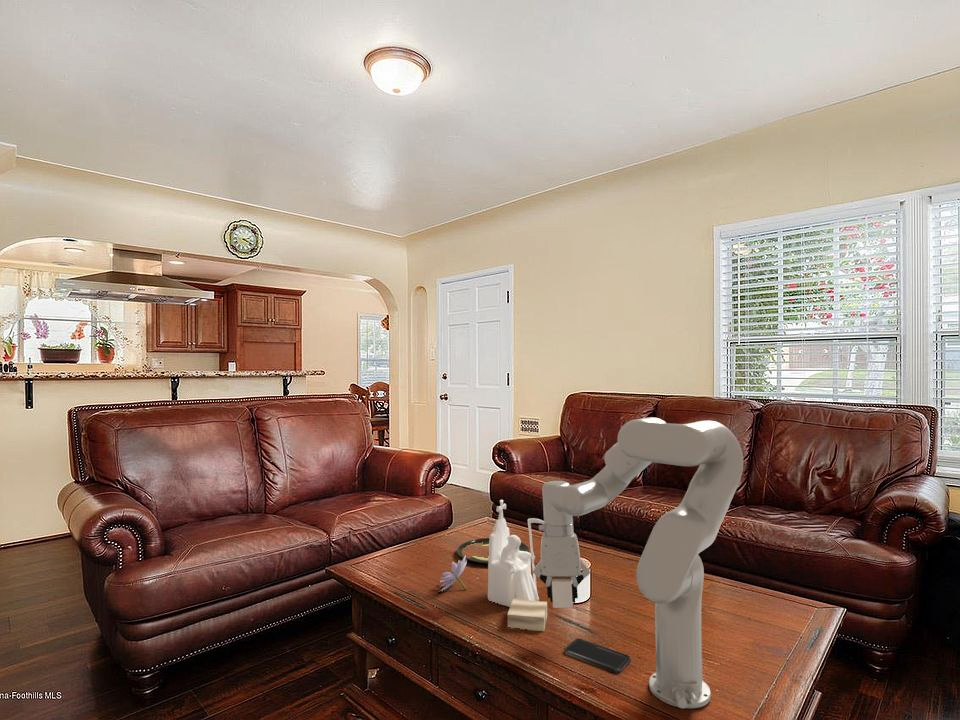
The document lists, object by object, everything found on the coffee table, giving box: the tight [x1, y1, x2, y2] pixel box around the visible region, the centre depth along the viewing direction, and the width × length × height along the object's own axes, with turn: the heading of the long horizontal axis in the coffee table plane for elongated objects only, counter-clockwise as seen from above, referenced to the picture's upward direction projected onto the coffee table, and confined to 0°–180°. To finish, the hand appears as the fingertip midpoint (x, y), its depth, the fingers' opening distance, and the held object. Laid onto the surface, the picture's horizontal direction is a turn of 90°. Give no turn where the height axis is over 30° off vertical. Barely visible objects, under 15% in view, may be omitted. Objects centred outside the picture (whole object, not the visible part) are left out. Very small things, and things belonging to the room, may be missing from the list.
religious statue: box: [487, 499, 544, 608], centre depth 163 cm, size 17×14×30 cm
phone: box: [563, 637, 632, 674], centre depth 129 cm, size 8×1×15 cm
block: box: [506, 599, 548, 632], centre depth 148 cm, size 10×10×4 cm
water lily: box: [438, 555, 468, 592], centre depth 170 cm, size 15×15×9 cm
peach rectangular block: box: [551, 577, 574, 609], centre depth 136 cm, size 5×5×7 cm
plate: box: [456, 537, 531, 565], centre depth 202 cm, size 28×28×2 cm
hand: (562, 599), depth 136 cm, fingers closed on peach rectangular block, 5 cm apart
